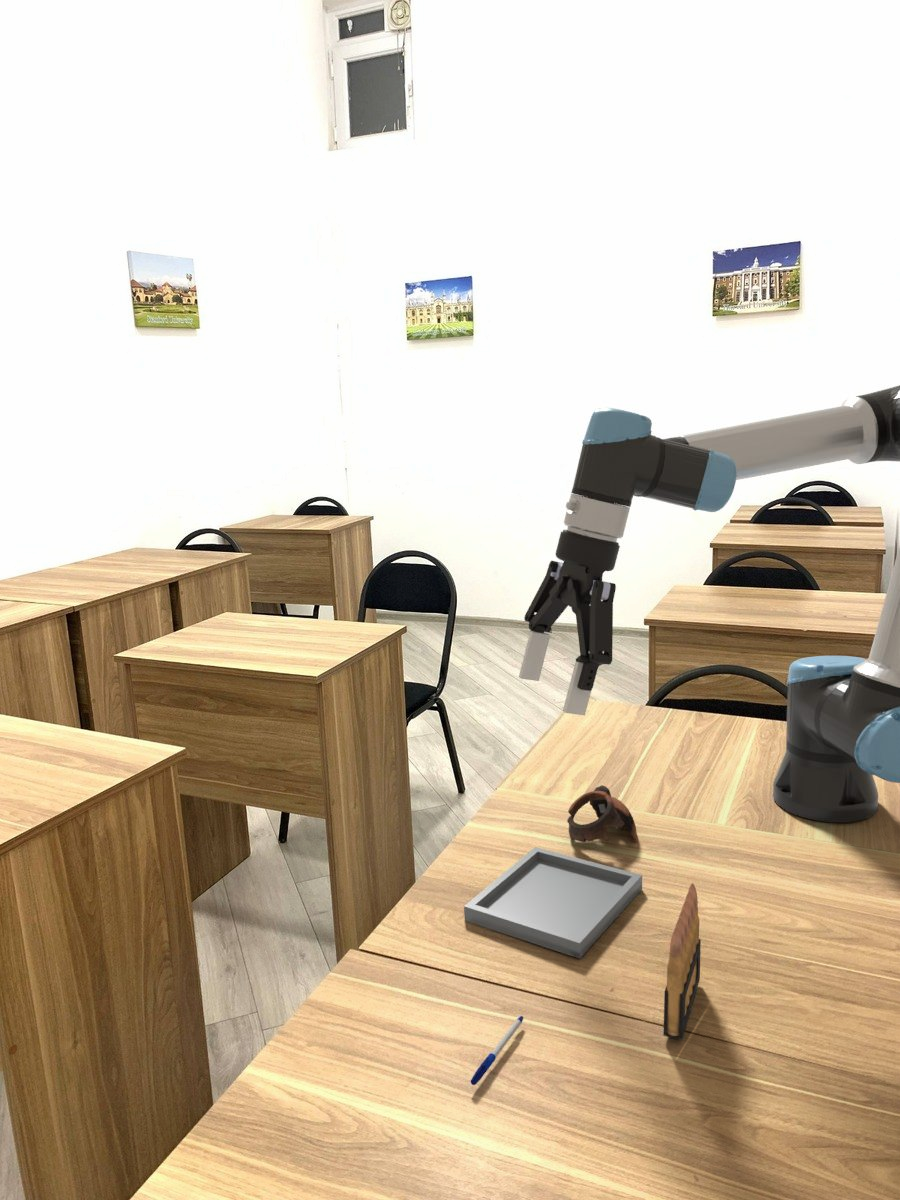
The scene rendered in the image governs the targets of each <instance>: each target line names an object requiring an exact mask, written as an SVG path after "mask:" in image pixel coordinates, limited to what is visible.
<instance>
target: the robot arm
mask: <svg viewBox="0 0 900 1200" xmlns="http://www.w3.org/2000/svg"><path fill="white" fill-rule="evenodd" d="M652 425H653V422H652V420H651V418H650V417H648V416H645V415H641V414H638V413H636V412H632V411H627V410H624V409H619V408H613V407H599V408H597V409H595V410H594V411H593V412H592V414H591V416H590V419H589V422H588V425H587V429H586V432H585V435H584V439H583V440H582V443H581V444H582V445H581V450H580V456H579V459H578V464H577V468H576V472H575V475H574V476H575V477H574V481H573V485H572V489H571V494H570V497H569V501H568V502H566V504H565V508H566V513H565V517H564V520H563V524H564V525H565V526H567V527H566V528H567V529H563V530H562V531H560V534H559V538H558V542H557V546H556V550H555V557H556V558H557V559H558V560H560V561H562V562H560V561H556V560H550V562H549V564H548V567H547V569H546V573H545V576H544V577H543V580H542V582H541V584H540V586H539V587H538V590H537V591H536V593H535V595H534V597H533V599H532V601H531V603H530V605H529V606H528V609H527V610H526V612H525V615H524V622H526V623H528V629H529V630H530V631H529V635H528V638H527V642H526V647H525V650H524V655H523V659H522V662H521V666H520V671H519V675H518V678H520V679H521V680H529V681H535V682H539V681H540V678H541V674H542V673H541V672H542V669H543V666H544V661H545V658H546V654H547V649H548V648H549V647H548V646H549V642H550V638H551V633H553V630H552V629H553V628H552V626H553V625H554V624H555V623H556V622H557V620H558V619H559V617H560V616H561V615H562V614H563V613H564V611H565V610H566V609H567V608H568V607H570V608H571V611H572V612H573V614H575V618H576V620H575V621H576V629H577V637H578V645H579V646H578V647H579V656H577V657H576V658H575V662H574V665H573V670H572V673H571V678H570V681H569V684H568V685H569V686H568V689H567V693H566V698H565V701H564V705H563V708H562V711H563V712H564V714H565V713H566V714H572V715H577V716H586V712H587V710H588V709H587V708H588V705H589V701H590V697H591V693H592V690H593V688H594V686H595V685H594V684H595V680H596V677H597V673H598V670H599V668H600V666H603V665H611V664H612V662H613V639H614V638H613V636H614V635H613V631H614V630H613V629H614V626H613V621H614V617H613V615H614V613H613V612H614V599H615V595H616V590H617V586H616V583H614V582H608V581H603V574H604V572H605V573H606V572H611V571H613V570H614V569H615V566H616V562H617V559H618V555H619V551H620V548H621V546H620V544H619V542H617V541H618V539H622V538H623V537H624V533H625V529H626V525H627V520H628V517H629V513H630V508H631V506H632V501H633V497H636V498H637V497H638V498H639V497H643V498H647V499H651V500H656V501H660V502H663V503H667V504H672V505H675V506H678V507H679V506H680V507H683V508H689V509H691V510H694V511H702V512H703V511H704V512H708V513H716V512H719V511H720V510H722V509H723V508H725V506H726V505H727V504H728V503H729V501H730V499H731V497H732V496H733V492H734V489H735V485H736V482H737V480H738V481H739V480H744V479H749V478H755V477H759V476H766V475H771V474H776V473H781V472H787V471H793V470H797V469H804V468H808V467H814V466H819V465H823V464H829V463H836V462H840V461H845V460H849V461H850V462H851V463H853V464H857V465H862V464H867V463H874V462H900V384H899V385H895V386H892V387H889V388H886V389H882V390H877V391H873V392H870V393H865V394H861V395H855V396H851V397H848V398H847V399H845V400H844V401H843V403H842V404H841V405H840V406H837V407H830V408H826V409H819V410H814V411H808V412H804V413H802V412H801V413H798V414H793V415H787V416H786V415H785V416H782V417H777V418H772V419H771V418H770V419H766V420H765V419H764V420H761V421H760V420H759V421H756V422H755V421H754V422H748V423H744V424H738V425H733V426H728V427H721V428H716V429H711V430H706V431H700V432H694V433H689V434H683V435H679V436H676V437H675V436H674V437H668V438H660V437H657V436H656V435H654V434H652V432H653V431H652ZM888 583H889V584H888V588H887V590H886V595H885V598H884V602H883V605H882V610H881V612H880V615H879V620H878V623H877V627H876V631H875V633H874V636H873V637H874V638H873V642H872V645H871V649H870V652H869V656H868V658H864V657H858V656H852V655H851V656H850V655H818V656H817V655H815V656H808V657H802V658H799V659H797V660H794V661H793V662H792V663H790V666H789V668H788V675H787V681H786V686H787V697H786V699H787V701H786V704H787V705H786V741H785V742H786V745H785V753H784V756H783V757H782V760H781V763H780V766H779V768H778V769H777V770H778V771H777V773H776V775H775V777H774V780H773V784H772V785H773V788H772V798H773V797H774V799H773V801H774V800H775V801H776V803H777V804H778V805H779V806H778V805H777V804H776V805H777V806H778V807H780V806H781V807H782V808H783V810H784V809H785V810H784V811H786V810H787V811H786V812H788V811H789V812H788V813H790V812H791V813H790V814H792V813H793V814H792V815H795V816H797V815H798V817H801V818H803V819H809V820H812V821H813V820H814V821H819V822H827V823H853V822H859V821H862V820H865V819H866V820H867V819H868V818H870V817H872V816H874V815H876V813H877V812H878V808H879V792H878V787H877V785H876V782H875V779H874V778H875V777H874V776H876V777H878V778H880V779H882V780H884V781H886V782H890V783H895V784H900V546H899V547H898V551H897V554H896V558H895V562H894V565H893V569H892V572H891V575H890V579H889V582H888ZM775 801H774V802H775ZM781 807H780V808H781ZM782 808H781V809H782Z"/></svg>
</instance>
